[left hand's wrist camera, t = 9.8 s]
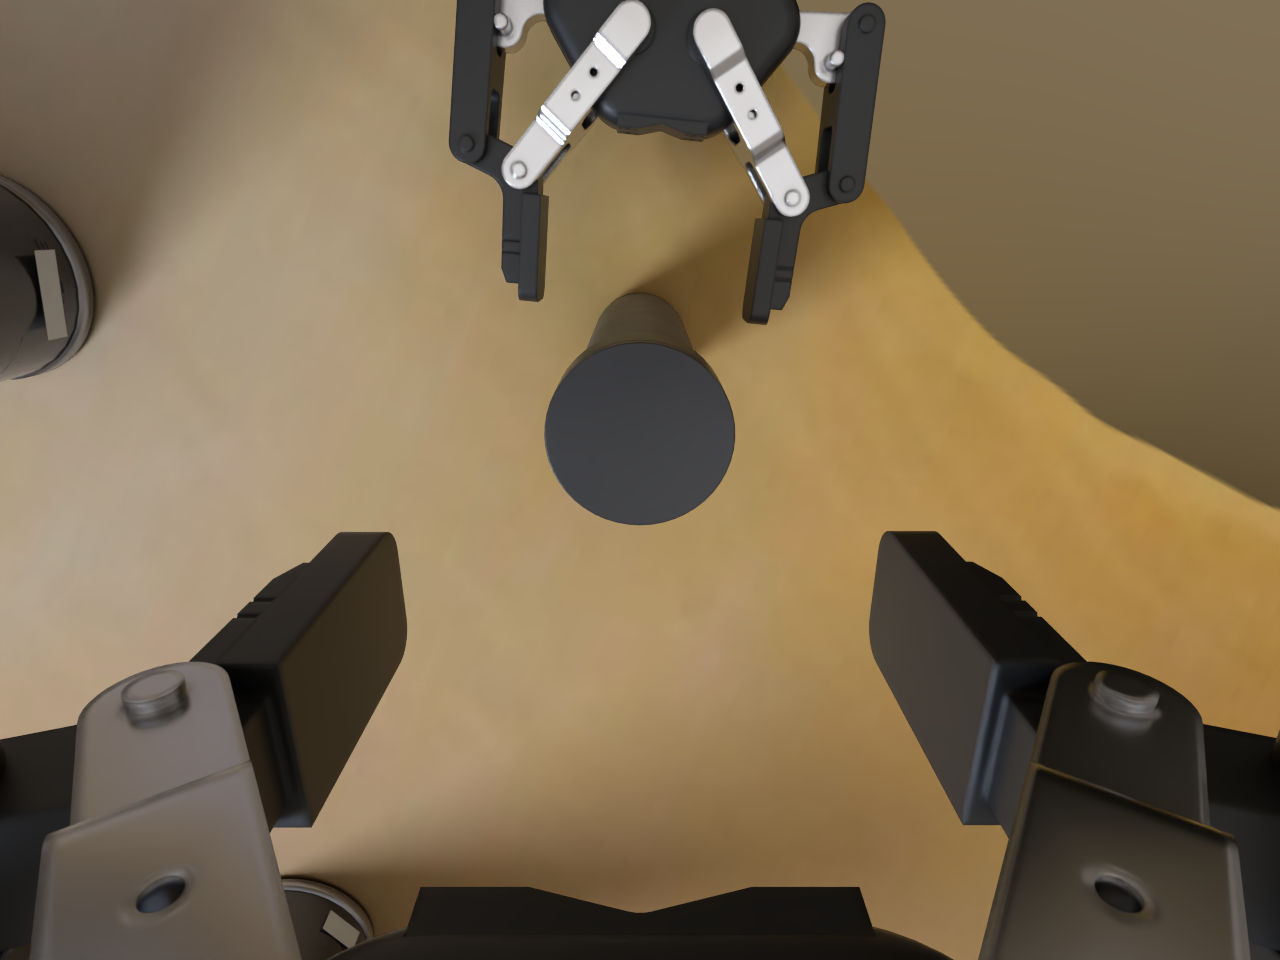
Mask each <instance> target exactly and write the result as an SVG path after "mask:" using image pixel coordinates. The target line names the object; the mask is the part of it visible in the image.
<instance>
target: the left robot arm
mask: <svg viewBox="0 0 1280 960" xmlns="http://www.w3.org/2000/svg"><path fill="white" fill-rule="evenodd" d="M237 615H238V616H237V618H233V619H232V620H231V621H230V622H229V623H228V624H227V625H226V626H225V627H224V628H223V629H222V630H221V631H220V632H219V633H218V634H217V635H216V636H215V637H214V638H212V639H211V640H210V641H209V642H208V643H207V644H206V645H205V646H204V647H203V648H202V649H201V650H200V651H199V652H198V653H197V654H196V655H195V656H194V657H193V658H192V659H191V660H190V661H189V662H181V663H174V664H168V665H164V666H160V667H156V668H152V669H149V670H146V671H143V672H140V673H138V674H135V675H133V676H130V677H128V678H126V679H124V680H122V681H120V682H118V683H116V684H114V685H112V686H111V687H109V688H107V689H106V690H104V691H103V692H101V693H100V694H99V695H97V696H96V697H95V698H94V699H93V700H91V701H90V702H89V703H88V704H87V706H86V707H85V708H84V709H83V710H82V712H81V714H80V716H79V718H78V722H77V725H73V726H69V727H64V728H58V729H53V730H48V731H43V732H38V733H32V734H27V735H22V736H17V737H11V738H6V739H1V740H0V960H953V959H951V958H949V957H948V956H946V955H944V954H943V953H941V952H939V951H936V950H934V949H932V948H930V947H928V946H926V945H924V944H921V943H919V942H917V941H915V940H912V939H910V938H907V937H904V936H901V935H898V934H896V933H893V932H890V931H887V930H883V929H879V928H876V927H872V924H871V921H870V918H869V915H868V912H867V909H866V906H865V903H864V900H863V897H862V894H861V891H860V888H859V887H750V888H746V889H742V890H737V891H733V892H729V893H725V894H721V895H717V896H713V897H709V898H705V899H701V900H697V901H693V902H689V903H685V904H681V905H677V906H673V907H669V908H665V909H660V910H656V911H652V912H646V913H634V912H628V911H624V910H620V909H615V908H611V907H607V906H603V905H599V904H595V903H591V902H587V901H583V900H579V899H575V898H571V897H567V896H563V895H559V894H555V893H551V892H547V891H543V890H538V889H534V888H530V887H421V888H420V891H419V894H418V897H417V900H416V903H415V906H414V909H413V912H412V915H411V918H410V921H409V924H408V927H404V928H401V929H397V930H393V931H390V932H387V933H384V934H382V935H379V936H376V937H373V930H372V926H371V923H370V921H369V919H368V917H367V915H366V914H365V913H364V911H363V910H362V909H361V908H360V906H359V905H358V904H357V903H356V902H354V901H353V900H352V899H351V898H349V897H348V896H347V895H345V894H344V893H342V892H340V891H338V890H336V889H334V888H332V887H330V886H327V885H324V884H321V883H318V882H314V881H309V880H302V879H281V876H280V872H279V868H278V864H277V860H276V856H275V853H274V849H273V845H272V841H271V837H270V832H271V830H272V829H273V827H312V825H313V824H314V822H315V820H316V818H317V816H318V814H319V812H320V811H321V809H322V807H323V805H324V803H325V801H326V799H327V798H328V796H329V794H330V792H331V790H332V788H333V787H334V785H335V783H336V781H337V779H338V777H339V775H340V774H341V772H342V770H343V768H344V766H345V764H346V762H347V761H348V759H349V757H350V755H351V753H352V751H353V750H354V748H355V746H356V744H357V742H358V740H359V738H360V737H361V735H362V733H363V731H364V729H365V727H366V725H367V724H368V722H369V720H370V718H371V716H372V714H373V713H374V711H375V709H376V707H377V705H378V703H379V701H380V700H381V698H382V696H383V694H384V692H385V690H386V688H387V687H388V685H389V683H390V681H391V679H392V677H393V676H394V674H395V672H396V670H397V668H398V666H399V664H400V662H401V660H402V658H403V655H404V651H405V646H406V640H407V619H406V611H405V603H404V596H403V588H402V580H401V573H400V565H399V557H398V550H397V545H396V541H395V539H394V537H393V535H392V534H391V533H389V532H340V533H338V534H337V535H336V536H335V537H334V538H333V539H332V540H331V541H330V542H329V543H328V544H327V545H326V546H325V547H324V548H323V549H322V550H321V551H320V552H319V553H318V554H317V555H316V557H315V558H314V559H313V560H312V561H311V562H310V563H302V564H300V565H298V566H296V567H295V568H293V569H291V570H289V571H287V572H285V573H283V574H282V575H280V576H278V577H276V578H274V579H273V580H272V581H271V582H270V583H269V584H268V585H267V586H266V587H264V588H263V589H262V590H261V591H260V592H259V593H258V594H257V595H256V596H255V597H254V601H253V602H249V603H248V604H247V605H246V606H245V607H244V608H243V609H242V610H241V611H240V612H239V613H238V614H237ZM869 635H870V644H871V649H872V653H873V656H874V659H875V661H876V663H877V665H878V667H879V668H880V670H881V672H882V674H883V676H884V678H885V680H886V682H887V683H888V685H889V687H890V689H891V691H892V693H893V695H894V697H895V698H896V700H897V702H898V704H899V706H900V708H901V710H902V712H903V713H904V715H905V717H906V719H907V721H908V723H909V725H910V727H911V728H912V730H913V732H914V734H915V736H916V738H917V740H918V742H919V743H920V745H921V747H922V749H923V751H924V753H925V755H926V757H927V758H928V760H929V762H930V764H931V766H932V768H933V770H934V772H935V773H936V775H937V777H938V779H939V781H940V783H941V785H942V787H943V788H944V790H945V792H946V794H947V796H948V798H949V800H950V802H951V803H952V805H953V807H954V809H955V811H956V813H957V815H958V817H959V818H960V820H961V822H962V824H963V825H1001V826H1002V828H1003V830H1004V831H1005V833H1006V835H1007V836H1008V838H1009V841H1008V845H1007V849H1006V853H1005V856H1004V860H1003V864H1002V868H1001V872H1000V876H999V880H998V884H997V888H996V892H995V896H994V900H993V904H992V907H991V911H990V915H989V919H988V923H987V927H986V931H985V935H984V939H983V943H982V947H981V951H980V955H979V959H978V960H1280V731H1279V733H1278V736H1277V738H1273V737H1268V736H1263V735H1257V734H1252V733H1247V732H1242V731H1236V730H1231V729H1226V728H1221V727H1216V726H1210V725H1205V724H1203V722H1202V718H1201V716H1200V714H1199V712H1198V710H1197V709H1196V708H1195V707H1194V706H1193V704H1192V703H1191V702H1190V701H1189V700H1187V699H1186V698H1185V697H1184V696H1183V695H1181V694H1180V693H1179V692H1177V691H1176V690H1174V689H1173V688H1171V687H1169V686H1168V685H1166V684H1164V683H1162V682H1160V681H1158V680H1156V679H1154V678H1152V677H1150V676H1147V675H1145V674H1142V673H1140V672H1137V671H1134V670H1131V669H1128V668H1124V667H1120V666H1116V665H1112V664H1106V663H1099V662H1087V661H1086V660H1085V659H1084V658H1083V657H1082V656H1081V655H1080V654H1079V653H1078V652H1077V651H1076V650H1075V649H1074V648H1072V647H1071V646H1070V645H1069V644H1068V643H1067V642H1066V641H1065V640H1064V639H1063V638H1062V637H1061V636H1060V635H1059V634H1058V633H1057V632H1056V631H1055V630H1054V629H1053V628H1052V627H1051V626H1050V625H1049V624H1048V623H1047V622H1046V621H1045V620H1044V619H1043V618H1042V617H1038V616H1037V612H1036V611H1035V610H1034V609H1033V608H1032V607H1031V606H1030V605H1029V604H1028V603H1027V602H1026V601H1022V600H1021V596H1020V595H1019V594H1018V593H1017V592H1016V591H1015V590H1014V589H1013V588H1012V587H1011V586H1010V585H1009V584H1008V583H1007V582H1006V581H1005V580H1004V579H1003V578H1001V577H1000V576H998V575H996V574H994V573H992V572H990V571H988V570H987V569H985V568H983V567H981V566H979V565H977V564H976V563H974V562H966V561H965V560H964V559H963V558H962V557H961V556H960V555H959V554H958V553H957V552H956V551H955V550H954V549H953V548H952V547H951V546H950V545H949V543H948V542H947V541H946V540H945V539H944V538H943V537H942V536H941V535H940V534H939V533H938V532H936V531H887V532H885V533H884V534H883V536H882V538H881V541H880V544H879V550H878V558H877V565H876V573H875V581H874V589H873V596H872V604H871V612H870V621H869Z"/></svg>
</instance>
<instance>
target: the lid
mask: <svg viewBox="0 0 1280 960" xmlns="http://www.w3.org/2000/svg"><path fill="white" fill-rule="evenodd" d="M734 443H735V423H734V417H733V412H732V409H731V406H730V402H729V400H728V398H727V396H726V394H725V391H724V389H723V387H722V385H721V383H720V381H719V379H718V377H717V376H716V374H715V373H714V371H713V369H712V368H711V367H710V365H709V364H708V363H707V362H706V361H705V360H704V358H702V357H701V356H700V355H699V354H698V353H697V352H696V351H694V350H693V349H692V348H690V347H689V346H687V345H686V344H684V343H682V342H680V341H678V340H676V339H673V338H670V337H667V336H664V335H660V334H655V333H647V332H633V333H625V334H620V335H615V336H612V337H609V338H607V339H604V340H602V341H600V342H598V343H596V344H594V345H593V346H591V347H590V348H588V349H587V350H585V351H584V352H583V353H582V354H581V355H579V356H578V357H577V358H576V359H575V360H574V362H573V363H572V364H571V365H570V366H569V367H568V369H567V370H566V372H565V374H564V375H563V377H562V379H561V381H560V383H559V385H558V387H557V389H556V391H555V393H554V395H553V397H552V399H551V402H550V405H549V408H548V411H547V415H546V421H545V446H546V452H547V456H548V460H549V463H550V465H551V468H552V470H553V472H554V474H555V476H556V478H557V480H558V481H559V483H560V484H561V486H562V487H563V488H564V490H565V491H566V492H567V493H568V494H569V495H570V496H571V497H572V498H573V499H574V500H575V501H576V502H577V503H579V504H580V505H581V506H582V507H584V508H585V509H587V510H588V511H590V512H592V513H593V514H595V515H598V516H600V517H602V518H604V519H607V520H610V521H614V522H617V523H623V524H628V525H651V524H657V523H663V522H666V521H669V520H673V519H675V518H678V517H680V516H682V515H684V514H686V513H688V512H690V511H691V510H693V509H695V508H696V507H697V506H699V505H700V504H701V503H702V502H704V501H705V500H706V499H707V498H708V497H709V496H710V495H711V494H712V493H713V492H714V490H715V489H716V488H717V486H718V485H719V484H720V482H721V481H722V479H723V477H724V475H725V474H726V472H727V469H728V467H729V464H730V462H731V458H732V455H733V451H734Z"/></svg>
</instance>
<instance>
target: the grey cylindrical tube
mask: <svg viewBox="0 0 1280 960" xmlns="http://www.w3.org/2000/svg"><path fill="white" fill-rule="evenodd" d="M633 332H647V333H655V334H660V335H664V336H667V337H670V338H673V339H676V340H678V341H680V342H682V343H684V344H686V345H687V346H689V347H690V348H692V345H691V343H690V340H689V338H688V336H687V333H686V331H685V328H684V326H683V323H682V321H681V319H680V317H679V315H678V314H677V312H676V311H675V309H674V308H673V307H672V306H671V305H670V304H669V303H667V302H666V301H665V300H663V299H661V298H659V297H657V296H654V295H651V294H647V293H633V294H628V295H625V296H622V297H620V298H618V299H617V300H615V301H614V302H612V303H611V304H610V305H609V306H608V307H607V308H606V309H605V310H604V312H603V313H602V315H601V316H600V318H599V321H598V323H597V325H596V328H595V330H594V333H593V335H592V337H591V340H590V342H589V345H588V347H587V349H588V348H590V347H591V346H593V345H594V344H596V343H598V342H600V341H602V340H604V339H607V338H609V337H612V336H615V335H620V334H625V333H633ZM692 349H693V348H692Z"/></svg>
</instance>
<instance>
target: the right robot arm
mask: <svg viewBox="0 0 1280 960" xmlns="http://www.w3.org/2000/svg"><path fill="white" fill-rule="evenodd" d="M542 21H546V22H547V24H548V26H549V28H550V30H551V32H552V34H553V36H554V38H555V40H556V42H557V43H558V45H559V47H560V49H561V51H562V53H563V54H564V56H565V58H566V60H567V62H568V64H569V65H570V67H571V69H570V70H569V72H568V73H567V74H566V75H565V77H564V78H563V79H562V81H561V82H560V83H559V84H558V86H557V87H556V88H555V89H554V91H553V92H552V93H551V95H550V96H549V97H548V98H547V100H546V101H545V102H544V104H543V105H542V107H541V108H540V110H539V112H538V115H537V117H536V118H535V120H534V121H533V122H532V124H531V125H530V126H529V128H528V129H527V130H526V131H525V133H524V134H523V135H522V137H521V138H520V139H519V140H518V142H517V143H516V144H515V145H514V147H513V146H511V145H509V144H507V143H505V142H503V141H501V140H499V132H500V120H501V107H502V95H503V82H504V70H505V57H506V53H510V54H511V53H516V52H518V51H519V50H520V49H521V48H522V47H523V46H524V44H525V41H526V37H527V34H528V31H529V30H530V28H531V27H532V26H533V25H534V24H536V23H538V22H542ZM884 30H885V16H884V13H883V11H882V9H881V8H880V7H879V6H878V5H876V4H874V3H863V4H861V5H859V6H858V7H856V8H855V9H854V10H853V11H851V12H849V13H843V12H818V11H799V7H798V5H797V2H796V0H457V11H456V29H455V46H454V63H453V80H452V97H451V114H450V131H449V147H450V150H451V152H452V154H453V155H454V157H455V158H456V159H458V160H459V161H461V162H463V163H466V164H468V165H470V166H472V167H474V168H476V169H478V170H480V171H482V172H484V173H486V174H488V175H490V176H491V177H493V178H494V179H495V180H496V181H497V182H498V184H499V185H500V187H501V189H502V192H503V229H502V267H501V268H502V271H503V273H504V276H505V279H506V282H508V283H518V295H519V300H524V301H534V302H539V301H540V300H541V299H543V296H544V288H545V268H546V247H547V226H548V205H549V196H545V195H543V184H544V183H545V181H546V180H547V179H548V178H549V177H550V175H551V174H552V173H553V172H554V170H555V169H556V168H557V167H558V165H559V164H560V163H561V162H562V160H563V159H564V158H565V157H566V155H567V154H568V153H569V152H570V151H571V150H572V149H573V148H574V147H575V146H576V145H577V144H578V143H579V142H580V141H581V140H582V138H583V137H584V136H585V135H586V134H587V132H588V131H589V130H590V129H591V127H592V126H593V125H594V124H595V122H596V121H597V120H598V119H599V118H600V119H601V120H602V121H603V122H604V123H605V124H607V125H608V126H610V127H611V128H613V129H616V130H617V132H618V133H624V134H633V135H642V134H647V133H652V132H658V131H662V132H664V133H667V134H669V135H672V136H674V137H676V138H679V139H681V140H690V141H700V142H702V141H703V140H704V139H707V138H711V137H713V136H716V135H717V134H719V133H721V132H722V131H723V133H724V135H725V137H726V139H727V141H728V143H729V145H730V147H731V149H732V150H733V152H734V154H735V156H736V158H737V160H738V161H739V163H740V164H741V165H742V167H743V168H744V169H745V171H746V173H747V175H748V177H749V178H750V180H751V182H752V184H753V186H754V188H755V190H756V192H757V194H758V196H759V198H760V200H761V201H762V203H763V205H764V207H763V214H762V219H755V225H754V232H753V239H752V246H751V253H750V260H749V267H748V274H747V281H746V288H745V295H744V302H743V311H742V317H743V319H744V320H745V321H746V322H747V323H751V324H761V325H766V324H767V322H768V319H769V315H770V309H775V310H782V309H783V307H784V305H785V303H786V302H787V300H788V298H789V295H790V289H791V283H792V277H793V269H794V265H795V258H796V252H797V246H798V240H799V234H800V229H801V225H802V223H803V221H804V220H805V218H806V217H807V216H808V215H809V214H811V213H812V212H814V211H816V210H819V209H823V208H827V207H830V206H834V205H838V204H841V203H849V202H852V201H854V200H856V199H857V198H858V197H859V196H860V194H861V193H862V191H863V188H864V183H865V175H866V167H867V160H868V152H869V144H870V137H871V129H872V122H873V114H874V106H875V99H876V91H877V84H878V76H879V68H880V61H881V53H882V46H883V38H884ZM792 49H797V50H799V51H800V52H802V53H803V54H804V56H805V57H806V59H807V62H808V73H809V77H810V79H811V81H812V82H813V83H814V84H815V85H817V86H819V87H823V88H824V94H823V103H822V113H821V122H820V131H819V140H818V149H817V158H816V168H815V174H811V175H808V176H804V177H802V176H801V174H800V172H799V170H798V168H797V166H796V164H795V162H794V160H793V158H792V156H791V154H790V152H789V150H788V148H787V145H786V143H785V137H784V133H783V131H782V128H781V126H780V124H779V122H778V120H777V118H776V116H775V114H774V112H773V110H772V108H771V106H770V104H769V102H768V100H767V98H766V96H765V94H764V92H763V90H762V88H761V87H762V86H763V85H764V83H765V82H766V81H767V80H768V78H769V77H770V76H771V75H772V74H773V72H774V71H775V70H776V69H777V68H778V66H779V65H780V64H781V63H782V62H783V60H784V59H785V58H786V57H787V56H788V54H789V53H790V52H791V51H792ZM93 308H94V298H93V288H92V283H91V278H90V274H89V271H88V268H87V265H86V262H85V260H84V257H83V255H82V253H81V251H80V249H79V247H78V245H77V243H76V242H75V240H74V238H73V237H72V235H71V234H70V232H69V231H68V229H67V228H66V227H65V225H64V224H63V223H62V222H61V220H60V219H59V218H58V217H57V216H56V215H55V214H54V213H53V211H52V210H51V209H50V208H49V207H48V206H46V205H45V204H44V203H43V202H42V201H41V200H40V199H38V198H37V197H36V196H35V195H33V194H32V193H31V192H29V191H28V190H26V189H25V188H23V187H22V186H20V185H18V184H17V183H15V182H13V181H11V180H9V179H7V178H5V177H3V176H0V382H2V381H6V380H11V379H21V378H26V377H30V376H34V375H38V374H42V373H45V372H48V371H51V370H53V369H55V368H57V367H59V366H61V365H63V364H64V363H65V362H67V361H68V360H69V359H70V358H71V357H73V356H74V355H75V354H76V352H77V351H78V350H79V349H80V347H81V346H82V344H83V343H84V341H85V339H86V337H87V335H88V332H89V329H90V326H91V322H92V317H93Z"/></svg>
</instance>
